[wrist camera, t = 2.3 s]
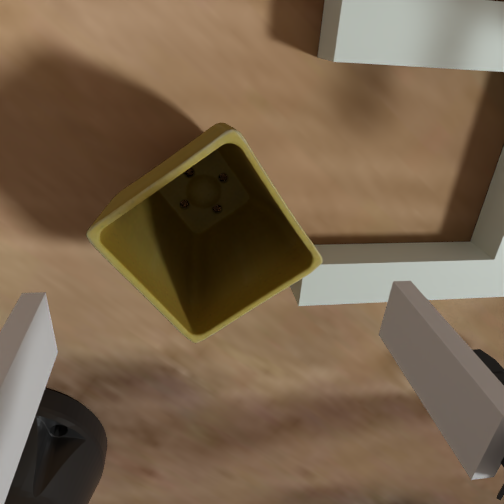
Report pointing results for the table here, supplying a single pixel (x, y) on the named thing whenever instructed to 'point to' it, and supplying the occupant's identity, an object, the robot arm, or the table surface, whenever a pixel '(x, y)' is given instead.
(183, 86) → the table surface
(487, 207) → the l-shaped hook stand
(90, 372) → the table surface
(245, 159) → the flower pot
